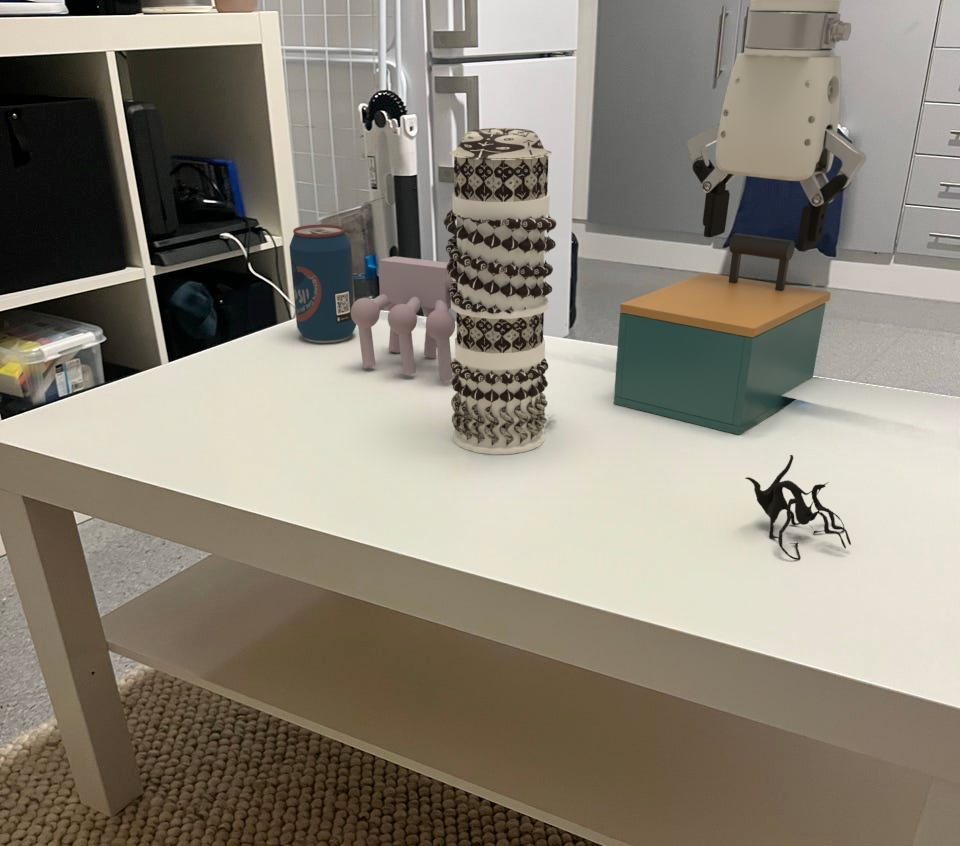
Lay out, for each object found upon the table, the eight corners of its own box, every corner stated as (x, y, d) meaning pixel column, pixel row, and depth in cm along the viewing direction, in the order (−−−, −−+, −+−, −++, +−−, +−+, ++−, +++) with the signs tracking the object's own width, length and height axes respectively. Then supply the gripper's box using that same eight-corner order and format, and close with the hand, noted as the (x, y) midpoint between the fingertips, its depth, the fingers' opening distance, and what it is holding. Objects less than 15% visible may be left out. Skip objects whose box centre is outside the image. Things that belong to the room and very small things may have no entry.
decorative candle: (460, 460, 87) (455, 139, 74) (439, 423, 95) (431, 126, 82) (561, 451, 89) (574, 136, 76) (533, 416, 97) (541, 123, 83)
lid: (704, 280, 106) (710, 225, 103) (829, 300, 98) (839, 242, 96) (619, 312, 95) (624, 251, 92) (753, 337, 88) (762, 273, 85)
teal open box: (691, 366, 110) (700, 282, 105) (810, 391, 103) (826, 302, 98) (613, 403, 100) (619, 312, 95) (739, 435, 92) (753, 338, 88)
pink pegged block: (556, 371, 108) (561, 237, 101) (511, 400, 101) (513, 257, 93) (398, 346, 116) (392, 220, 109) (345, 371, 109) (335, 237, 101)
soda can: (286, 336, 120) (275, 229, 113) (332, 325, 124) (324, 221, 118) (322, 348, 116) (312, 237, 109) (369, 336, 120) (362, 228, 113)
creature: (865, 548, 76) (777, 496, 79) (895, 488, 72) (802, 436, 76) (811, 584, 71) (720, 527, 75) (840, 521, 68) (744, 465, 71)
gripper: (903, 39, 87) (860, 248, 96) (721, 33, 96) (698, 225, 105) (870, 40, 82) (828, 261, 91) (681, 34, 91) (661, 235, 100)
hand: (758, 242), depth 98 cm, fingers open, 9 cm apart
